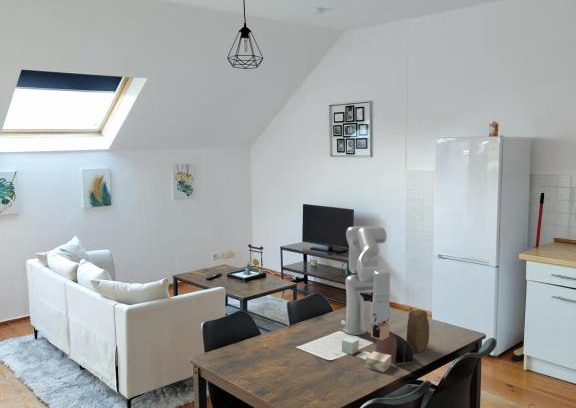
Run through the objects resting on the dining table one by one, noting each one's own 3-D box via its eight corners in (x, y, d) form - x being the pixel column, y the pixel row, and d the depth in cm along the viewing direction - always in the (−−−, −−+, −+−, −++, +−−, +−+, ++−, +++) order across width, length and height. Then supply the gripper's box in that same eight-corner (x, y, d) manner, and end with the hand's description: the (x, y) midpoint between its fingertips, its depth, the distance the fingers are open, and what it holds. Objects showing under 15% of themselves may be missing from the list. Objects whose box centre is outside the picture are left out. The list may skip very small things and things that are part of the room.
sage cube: (341, 351, 268) (342, 339, 267) (348, 348, 273) (348, 336, 272) (351, 354, 264) (352, 343, 263) (358, 351, 269) (358, 339, 268)
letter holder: (394, 366, 252) (395, 337, 250) (375, 350, 271) (376, 323, 269) (413, 363, 255) (414, 335, 253) (393, 348, 273) (394, 321, 272)
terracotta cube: (370, 336, 249) (371, 324, 248) (377, 333, 253) (378, 321, 253) (382, 340, 245) (382, 327, 244) (388, 336, 249) (389, 324, 249)
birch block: (365, 367, 250) (366, 357, 249) (373, 361, 257) (373, 351, 257) (383, 372, 245) (384, 362, 244) (391, 365, 252) (391, 355, 252)
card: (355, 356, 262) (355, 355, 261) (364, 352, 268) (364, 351, 267) (369, 361, 256) (369, 360, 256) (378, 356, 262) (378, 355, 262)
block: (415, 354, 266) (417, 315, 263) (404, 349, 272) (406, 310, 269) (430, 349, 272) (432, 311, 269) (419, 344, 278) (420, 307, 276)
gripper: (383, 292, 256) (382, 328, 258) (363, 299, 243) (362, 338, 245) (397, 295, 251) (396, 332, 253) (378, 303, 238) (377, 342, 240)
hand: (379, 334), depth 249 cm, fingers closed on terracotta cube, 6 cm apart
